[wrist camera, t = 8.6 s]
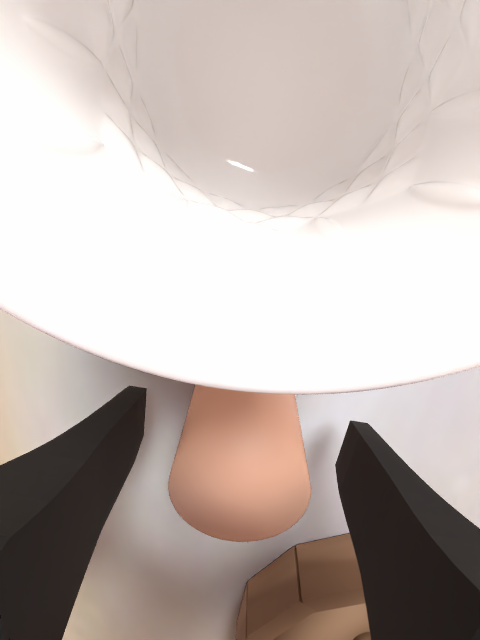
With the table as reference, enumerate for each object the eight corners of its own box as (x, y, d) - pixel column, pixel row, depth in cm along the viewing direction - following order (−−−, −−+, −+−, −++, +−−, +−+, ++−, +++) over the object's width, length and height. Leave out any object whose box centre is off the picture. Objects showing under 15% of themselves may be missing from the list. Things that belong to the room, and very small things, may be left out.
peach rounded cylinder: (191, 424, 16) (163, 531, 11) (201, 340, 14) (174, 424, 9) (282, 437, 16) (294, 550, 11) (303, 356, 14) (326, 447, 9)
